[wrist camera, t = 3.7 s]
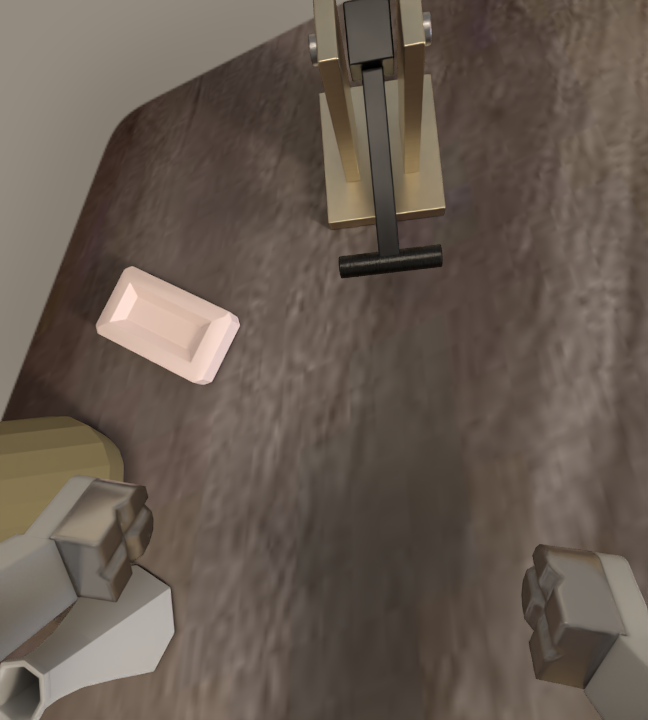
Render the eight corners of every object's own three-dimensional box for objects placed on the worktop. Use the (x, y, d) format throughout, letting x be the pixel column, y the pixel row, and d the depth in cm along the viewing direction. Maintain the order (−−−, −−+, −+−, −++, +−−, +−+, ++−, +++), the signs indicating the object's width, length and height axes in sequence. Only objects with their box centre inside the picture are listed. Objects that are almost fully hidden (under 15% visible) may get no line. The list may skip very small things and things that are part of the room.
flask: (93, 552, 35) (-29, 601, 25) (186, 575, 34) (97, 636, 24) (70, 659, 34) (-64, 751, 24) (165, 686, 33) (64, 796, 23)
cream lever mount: (444, 215, 34) (466, 92, 22) (330, 230, 35) (289, 122, 23) (430, 84, 36) (443, -101, 23) (321, 103, 37) (277, -63, 24)
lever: (439, 266, 28) (444, 267, 25) (343, 277, 29) (339, 279, 26) (421, 9, 25) (424, -16, 23) (315, 30, 26) (308, 8, 24)
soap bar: (211, 388, 35) (196, 385, 33) (109, 336, 37) (89, 329, 35) (244, 320, 36) (232, 313, 33) (142, 272, 37) (124, 261, 35)
